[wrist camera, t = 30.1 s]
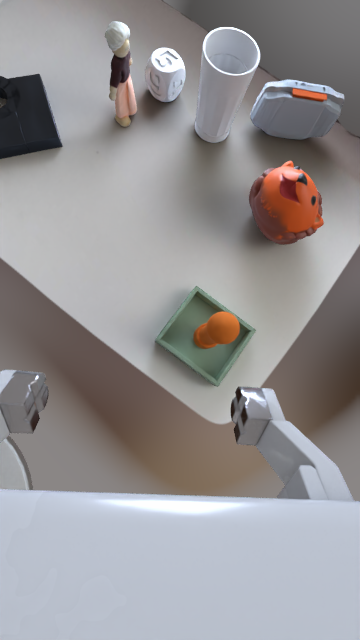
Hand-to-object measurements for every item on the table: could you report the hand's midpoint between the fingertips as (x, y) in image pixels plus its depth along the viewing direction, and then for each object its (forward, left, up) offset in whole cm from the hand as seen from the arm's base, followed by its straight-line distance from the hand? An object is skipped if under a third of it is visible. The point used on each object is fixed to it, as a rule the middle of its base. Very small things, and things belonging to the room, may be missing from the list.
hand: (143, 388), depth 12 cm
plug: (+10, +2, -29) cm, 31 cm away
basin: (+10, +2, -29) cm, 31 cm away
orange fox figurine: (+28, +17, -30) cm, 44 cm away
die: (+18, +46, -30) cm, 58 cm away
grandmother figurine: (+10, +43, -30) cm, 53 cm away
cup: (+24, +37, -30) cm, 53 cm away
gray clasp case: (+37, +33, -30) cm, 58 cm away
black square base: (-8, +45, -29) cm, 55 cm away
